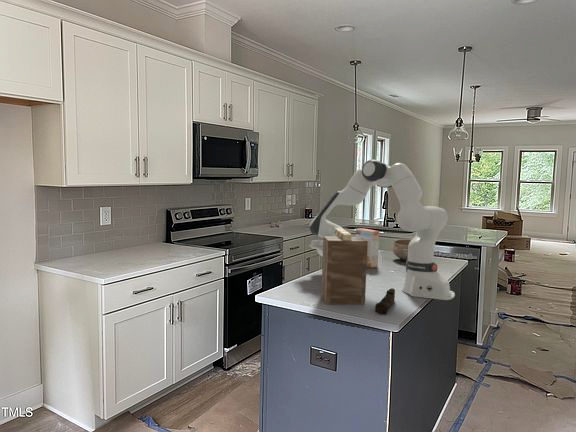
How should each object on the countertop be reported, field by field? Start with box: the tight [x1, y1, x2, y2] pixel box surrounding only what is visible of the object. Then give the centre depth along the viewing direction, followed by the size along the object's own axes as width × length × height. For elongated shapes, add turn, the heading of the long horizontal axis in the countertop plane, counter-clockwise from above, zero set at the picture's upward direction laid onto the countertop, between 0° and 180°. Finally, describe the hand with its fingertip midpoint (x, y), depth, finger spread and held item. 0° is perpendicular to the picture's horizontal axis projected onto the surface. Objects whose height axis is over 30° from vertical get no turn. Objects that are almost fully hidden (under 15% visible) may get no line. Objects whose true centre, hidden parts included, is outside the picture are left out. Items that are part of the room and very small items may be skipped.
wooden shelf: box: [321, 236, 368, 305], centre depth 185 cm, size 12×16×26 cm
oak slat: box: [334, 227, 353, 241], centre depth 188 cm, size 20×3×2 cm, turn 5°
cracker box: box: [355, 227, 380, 269], centre depth 255 cm, size 14×6×21 cm, turn 32°
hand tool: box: [374, 288, 396, 316], centre depth 178 cm, size 23×5×6 cm, turn 153°
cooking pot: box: [392, 238, 413, 262], centre depth 273 cm, size 25×19×12 cm
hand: (334, 243), depth 209 cm, fingers open, 8 cm apart
